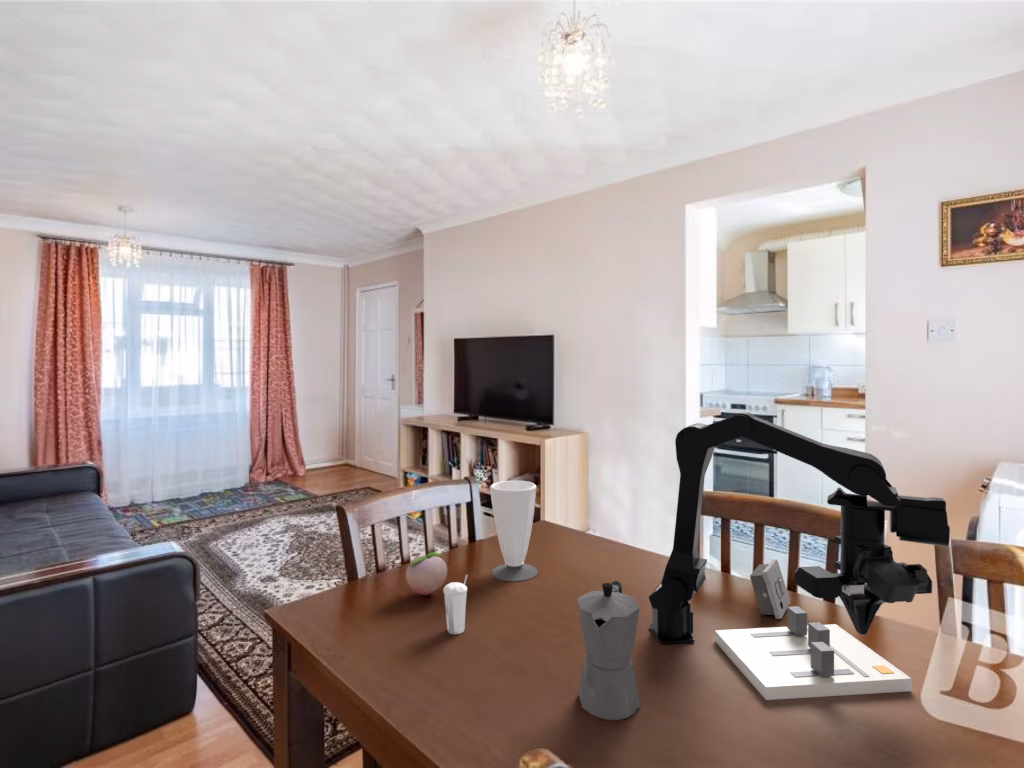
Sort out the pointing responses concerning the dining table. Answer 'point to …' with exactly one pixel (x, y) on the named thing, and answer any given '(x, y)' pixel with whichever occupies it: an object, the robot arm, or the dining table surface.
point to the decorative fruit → (426, 573)
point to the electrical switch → (770, 589)
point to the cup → (513, 527)
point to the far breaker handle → (797, 620)
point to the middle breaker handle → (818, 633)
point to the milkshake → (455, 606)
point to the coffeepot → (608, 652)
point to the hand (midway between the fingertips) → (861, 633)
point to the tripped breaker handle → (822, 659)
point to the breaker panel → (808, 664)
